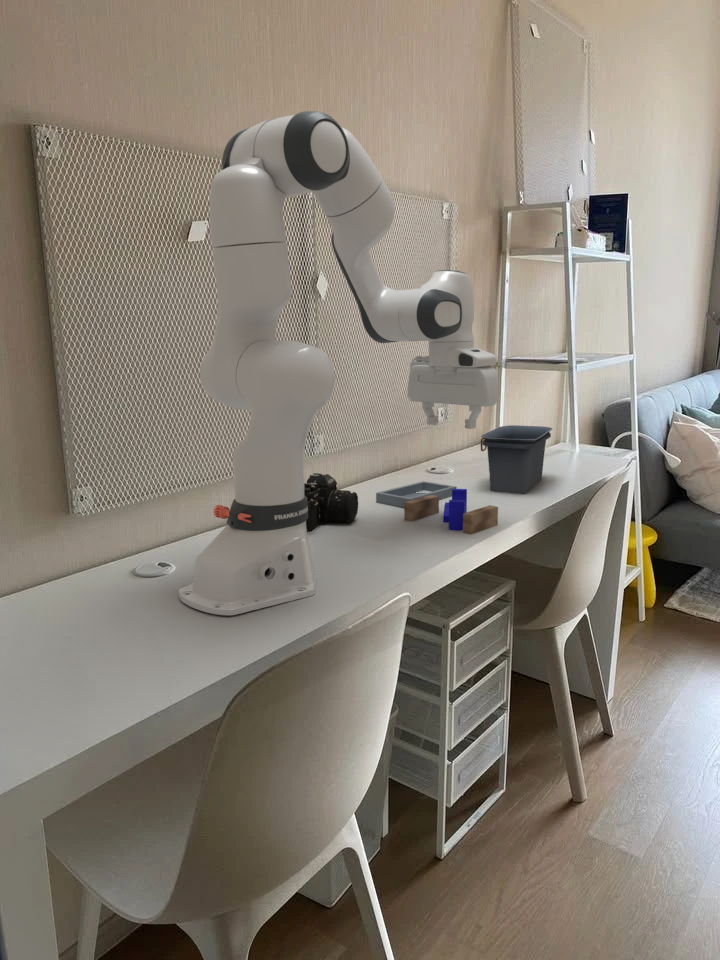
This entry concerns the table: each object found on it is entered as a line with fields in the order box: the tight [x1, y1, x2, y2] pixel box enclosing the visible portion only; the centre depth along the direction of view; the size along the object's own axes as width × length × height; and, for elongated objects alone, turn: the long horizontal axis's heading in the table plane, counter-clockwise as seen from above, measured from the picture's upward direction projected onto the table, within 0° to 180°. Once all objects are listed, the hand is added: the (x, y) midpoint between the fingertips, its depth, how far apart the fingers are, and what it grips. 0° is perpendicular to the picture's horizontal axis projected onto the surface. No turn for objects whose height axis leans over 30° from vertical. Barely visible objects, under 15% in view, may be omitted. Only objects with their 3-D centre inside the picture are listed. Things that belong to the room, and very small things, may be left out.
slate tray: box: [375, 480, 458, 509], centre depth 174 cm, size 17×10×2 cm, turn 136°
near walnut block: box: [462, 504, 499, 535], centre depth 149 cm, size 9×2×4 cm, turn 136°
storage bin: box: [480, 424, 553, 495], centre depth 184 cm, size 21×16×14 cm
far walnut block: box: [403, 495, 440, 522], centre depth 159 cm, size 9×2×4 cm, turn 136°
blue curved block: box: [442, 488, 468, 532], centre depth 154 cm, size 12×4×6 cm, turn 170°
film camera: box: [304, 472, 359, 532], centre depth 156 cm, size 18×12×10 cm
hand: (451, 426), depth 150 cm, fingers open, 8 cm apart
